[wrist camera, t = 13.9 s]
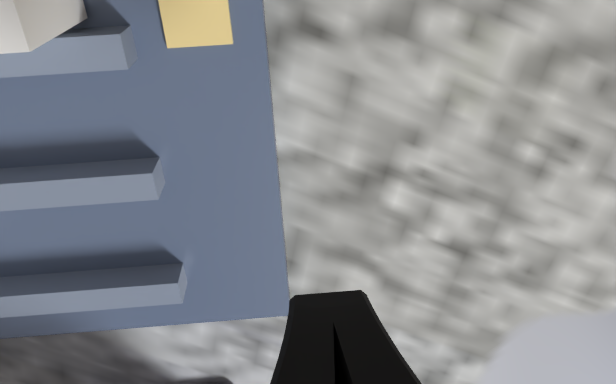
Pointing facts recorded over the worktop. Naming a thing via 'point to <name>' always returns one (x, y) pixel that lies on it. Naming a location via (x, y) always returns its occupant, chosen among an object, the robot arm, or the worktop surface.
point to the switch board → (141, 172)
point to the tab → (36, 22)
